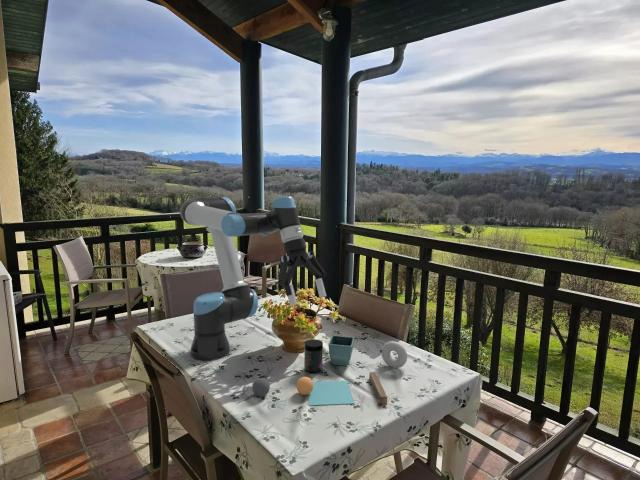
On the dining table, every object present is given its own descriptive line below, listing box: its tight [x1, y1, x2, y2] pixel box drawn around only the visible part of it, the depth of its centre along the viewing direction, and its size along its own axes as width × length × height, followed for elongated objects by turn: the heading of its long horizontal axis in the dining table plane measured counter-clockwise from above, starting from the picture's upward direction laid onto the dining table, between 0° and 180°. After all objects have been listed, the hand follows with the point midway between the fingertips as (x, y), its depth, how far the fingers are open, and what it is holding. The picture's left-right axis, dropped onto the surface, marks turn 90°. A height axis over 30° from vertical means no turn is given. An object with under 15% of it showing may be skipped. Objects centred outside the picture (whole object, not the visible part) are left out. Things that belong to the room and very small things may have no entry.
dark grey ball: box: [251, 377, 271, 398], centre depth 124 cm, size 6×6×6 cm
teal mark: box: [307, 380, 356, 407], centre depth 127 cm, size 14×14×1 cm
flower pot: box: [328, 334, 355, 367], centre depth 147 cm, size 9×9×9 cm
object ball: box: [296, 376, 314, 396], centre depth 126 cm, size 6×6×6 cm
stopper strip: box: [369, 371, 388, 405], centre depth 128 cm, size 2×16×2 cm, turn 5°
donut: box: [381, 340, 408, 369], centre depth 144 cm, size 10×4×10 cm, turn 55°
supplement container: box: [303, 339, 324, 375], centre depth 141 cm, size 7×7×10 cm
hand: (309, 300), depth 131 cm, fingers open, 13 cm apart
